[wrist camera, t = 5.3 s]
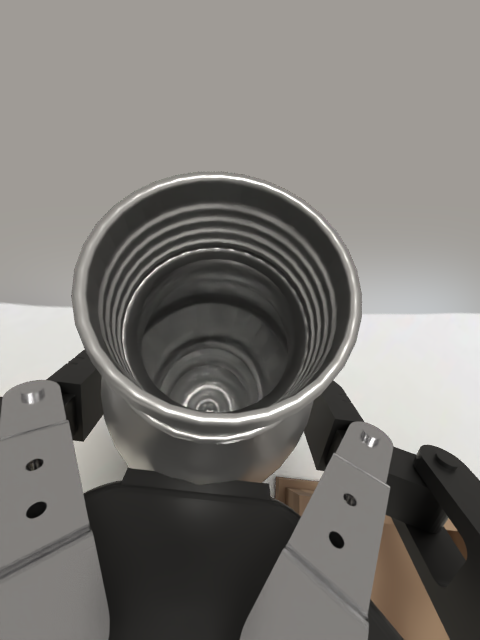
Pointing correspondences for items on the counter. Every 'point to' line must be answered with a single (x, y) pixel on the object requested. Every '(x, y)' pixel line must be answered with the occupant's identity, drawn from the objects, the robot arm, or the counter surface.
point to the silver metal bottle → (214, 323)
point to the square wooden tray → (387, 571)
